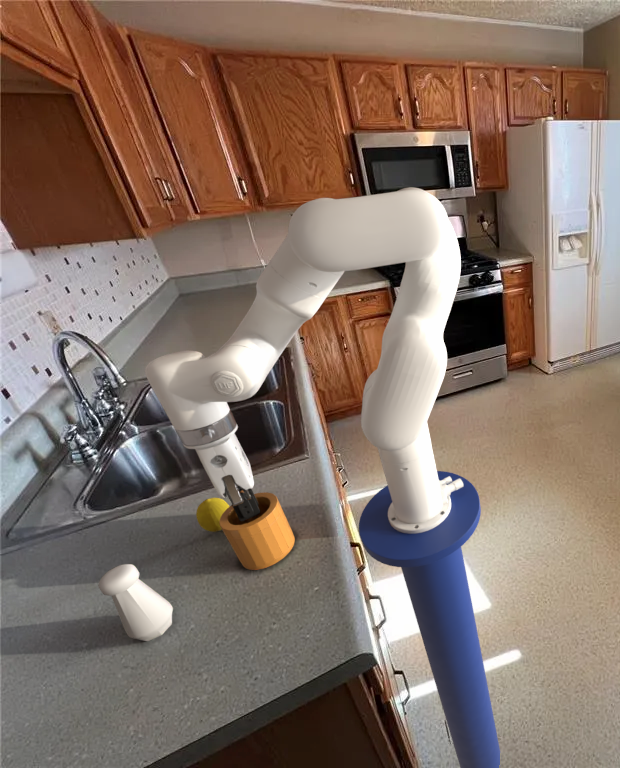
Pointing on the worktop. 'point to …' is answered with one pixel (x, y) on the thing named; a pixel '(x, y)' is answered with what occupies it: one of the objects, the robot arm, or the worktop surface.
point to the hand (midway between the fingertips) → (249, 512)
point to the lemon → (211, 513)
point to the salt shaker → (136, 603)
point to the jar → (259, 534)
